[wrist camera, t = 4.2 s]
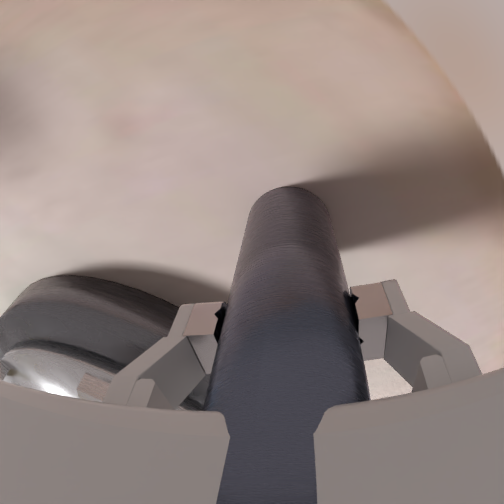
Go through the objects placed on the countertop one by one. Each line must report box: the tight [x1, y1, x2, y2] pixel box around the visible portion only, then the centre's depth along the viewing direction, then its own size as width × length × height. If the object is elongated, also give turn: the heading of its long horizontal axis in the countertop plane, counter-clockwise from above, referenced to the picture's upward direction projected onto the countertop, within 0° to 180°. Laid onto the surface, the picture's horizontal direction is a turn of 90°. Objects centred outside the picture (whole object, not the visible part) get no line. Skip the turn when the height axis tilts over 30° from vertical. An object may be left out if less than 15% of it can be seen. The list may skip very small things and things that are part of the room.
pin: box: [202, 187, 371, 504], centre depth 10 cm, size 4×4×14 cm
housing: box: [0, 275, 211, 408], centre depth 23 cm, size 26×26×4 cm
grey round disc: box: [0, 340, 203, 411], centre depth 19 cm, size 22×22×7 cm
